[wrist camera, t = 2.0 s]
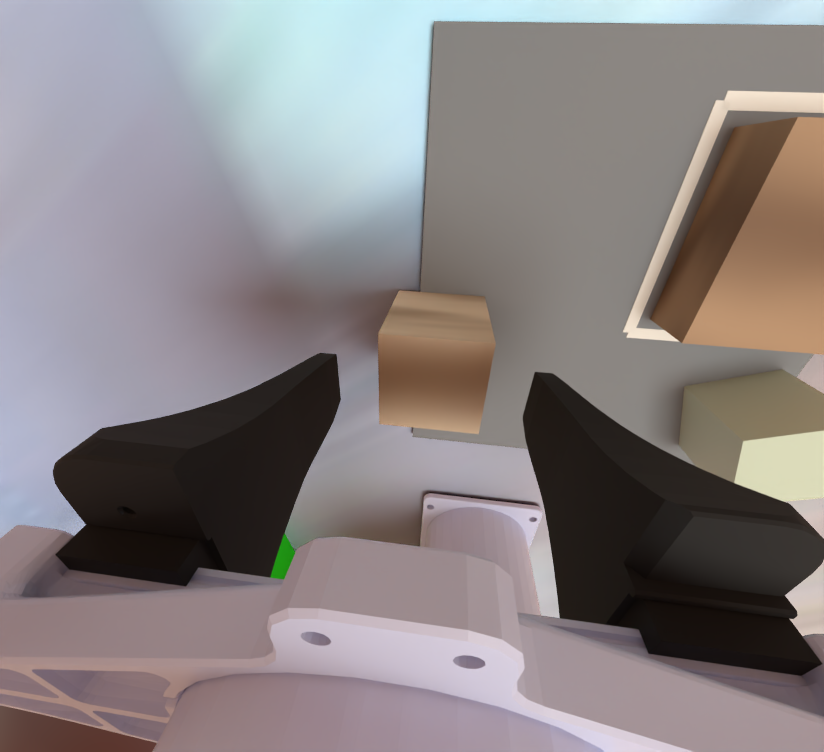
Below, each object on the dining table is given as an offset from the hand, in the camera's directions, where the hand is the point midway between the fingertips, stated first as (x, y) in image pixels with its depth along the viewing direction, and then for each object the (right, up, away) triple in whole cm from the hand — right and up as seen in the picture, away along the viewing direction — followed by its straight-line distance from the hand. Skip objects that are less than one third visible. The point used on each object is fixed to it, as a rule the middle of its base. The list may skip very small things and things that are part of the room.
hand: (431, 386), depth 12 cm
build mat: (+9, +4, +3) cm, 10 cm away
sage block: (+15, -1, +5) cm, 16 cm away
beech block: (+1, +3, +4) cm, 5 cm away
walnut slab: (+14, +6, +1) cm, 15 cm away
